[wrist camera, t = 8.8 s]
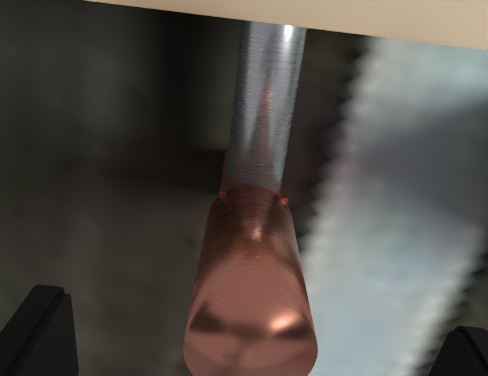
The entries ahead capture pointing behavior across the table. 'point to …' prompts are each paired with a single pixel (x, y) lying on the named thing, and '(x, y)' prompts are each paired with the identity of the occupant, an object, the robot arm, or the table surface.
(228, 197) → the copper head hammer
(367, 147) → the table surface
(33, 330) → the robot arm
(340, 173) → the table surface
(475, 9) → the beige block
